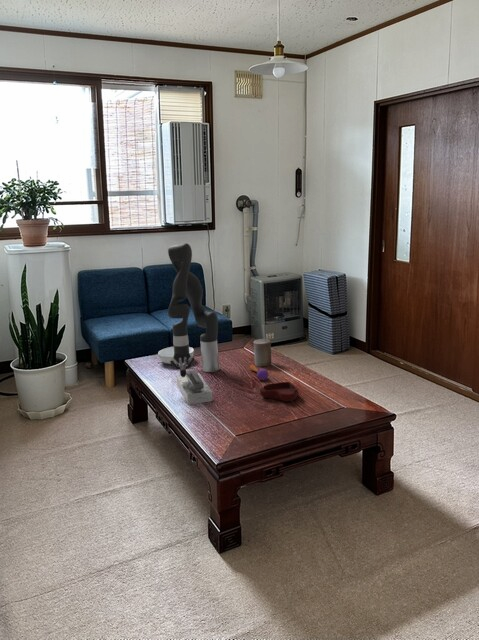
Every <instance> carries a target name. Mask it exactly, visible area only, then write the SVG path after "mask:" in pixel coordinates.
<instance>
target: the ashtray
mask: <svg viewBox="0 0 479 640" xmlns="http://www.w3.org/2000/svg"><path fill="white" fill-rule="evenodd" d="M259 393H260V396H261V397H262V398H263V399H266V400H269V399H274V400H278V401H283V402H285V403H286V404H287V403H291V402H292V401H294V400H296V399H297V398H298V396H299V389H298V388H297V387H296V386H295V385H294V384H292V382H290V381H283V382H282V381H281V382H276V383H275V382H274V383H273V382H272V383H268V384H265V385H264V386H263V387H261V388H260V389H259Z"/></svg>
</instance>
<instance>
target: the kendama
mask: <svg viewBox="0 0 479 640" xmlns="http://www.w3.org/2000/svg"><path fill="white" fill-rule="evenodd" d="M249 370H250V371H253V372H255V373H256V377H257V379H258V380H260V381H265V380H267V379H268V378H269V372H268V370H266V369H265V368H260V369H258V368H257V366H256V365H255V364H250V365H249Z"/></svg>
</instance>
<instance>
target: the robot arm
mask: <svg viewBox="0 0 479 640" xmlns="http://www.w3.org/2000/svg"><path fill="white" fill-rule="evenodd" d="M167 253H168V257H169V260H170V262H171V264H172V265H173V268H174V270H175V272H176V273H177V274H176V276H175V278H174V280H173V281H172V282H173V283H172V294H171V295H172V296H171V298H170V299H171V300H170V303H169V306H168V309H167V315H168V317H169V318H170V319H182V320H181V321H179V322H175V323H173V324H172V336H173V339H172V343H173V347H174V356H173V358H172V359H171V360H170V363H171V364H170V365H172V366H173V367H174V368H175V369H176V370H178V371H179V376H182V377H185V376H186V371H187V369H190V367H191V366H192V364H193V363H194V362H195V360H196V359H195V357H194V356H193V357H192V356H190V353H189V347H190V346H189V345H190V344H189V343H190V340H189V335H188V321H189V318H190V317H189V316H190V312H191V311H192V313H193V316H194V317H193V318H194V320H195V323H196V324H197V326H198V327H199V328H200V329H205V333H202V334H200V336H199V339H200V340H199V341H200V356H201V358H200V359H201V370H202V372H205V373H214V372H217V371H220V369H221V367H220V354H219V351H218V335H219V319H218V315H217V314H216V313H215V312H213V311H206V310H205V308H204V306H203V302H202V300H203V296H204V295H203V294H204V289H203V287H202V283H201V281H200V279H199V278H198V277H197V276H196V275H195V274H194V273H193V272H191V271H190V270H191V269H190V268H191V264H192V259H193V250H192V247H191V245H190V244H188V242H186V243H178V244H174V245H170V246H169V247H168V248H167ZM186 299H187V300H188V302H189V305H188V304H187V303H181V302H183V301H185V300H186ZM190 307H191V311H190ZM189 358H190V359H189ZM175 360H176V361H177V362H178V363H179V364H175ZM188 360H189V361H188Z"/></svg>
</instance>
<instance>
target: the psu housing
mask: <svg viewBox="0 0 479 640" xmlns="http://www.w3.org/2000/svg"><path fill="white" fill-rule="evenodd" d="M197 374H198V375H199V377H200V378H201V380H202V382H203V383H204V388H203V389H194V388H193V387H192V385H191V383H190V382H189V380H188V378H187V377H186V376H185V377H182V376H181V375H177V376H176V385H177V387H178V390H179V391H180V393H181V395H182V397H183V398H184V400H185V402H186V404H187V405H189V406H190V405H196V404H202V403H207V402H213V401H214V400H213V390H212V389H211V388H210V386H209V384H208V383H207V382H206V380H205V379H204V378H203V376H202V375H201V373H199V372H197Z"/></svg>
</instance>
